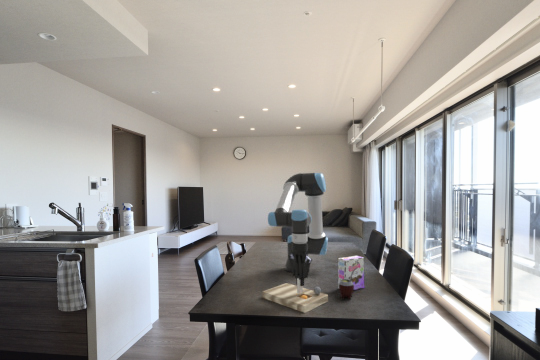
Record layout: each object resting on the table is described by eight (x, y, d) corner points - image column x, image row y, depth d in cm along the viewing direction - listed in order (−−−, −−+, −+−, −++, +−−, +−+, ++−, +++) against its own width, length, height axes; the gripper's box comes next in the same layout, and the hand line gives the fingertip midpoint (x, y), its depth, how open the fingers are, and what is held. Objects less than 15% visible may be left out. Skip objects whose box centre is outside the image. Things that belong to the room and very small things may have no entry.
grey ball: (312, 294, 137) (311, 286, 137) (316, 292, 140) (316, 285, 140) (318, 296, 134) (318, 288, 135) (322, 294, 137) (322, 286, 137)
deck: (262, 297, 142) (262, 291, 142) (286, 288, 154) (286, 282, 155) (304, 313, 123) (304, 305, 124) (328, 301, 136) (328, 294, 136)
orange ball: (297, 301, 135) (300, 294, 134) (302, 299, 137) (304, 292, 136) (303, 306, 132) (306, 299, 131) (308, 303, 135) (310, 297, 134)
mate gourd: (336, 296, 143) (335, 265, 144) (349, 293, 146) (348, 263, 147) (345, 301, 136) (345, 269, 137) (359, 298, 139) (358, 267, 140)
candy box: (345, 292, 148) (344, 260, 149) (337, 288, 154) (337, 257, 154) (365, 288, 155) (364, 257, 155) (357, 284, 160) (356, 255, 161)
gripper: (284, 241, 139) (284, 291, 139) (305, 244, 130) (306, 297, 129) (294, 239, 145) (294, 287, 144) (315, 242, 136) (316, 293, 135)
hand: (300, 292), depth 137 cm, fingers closed
